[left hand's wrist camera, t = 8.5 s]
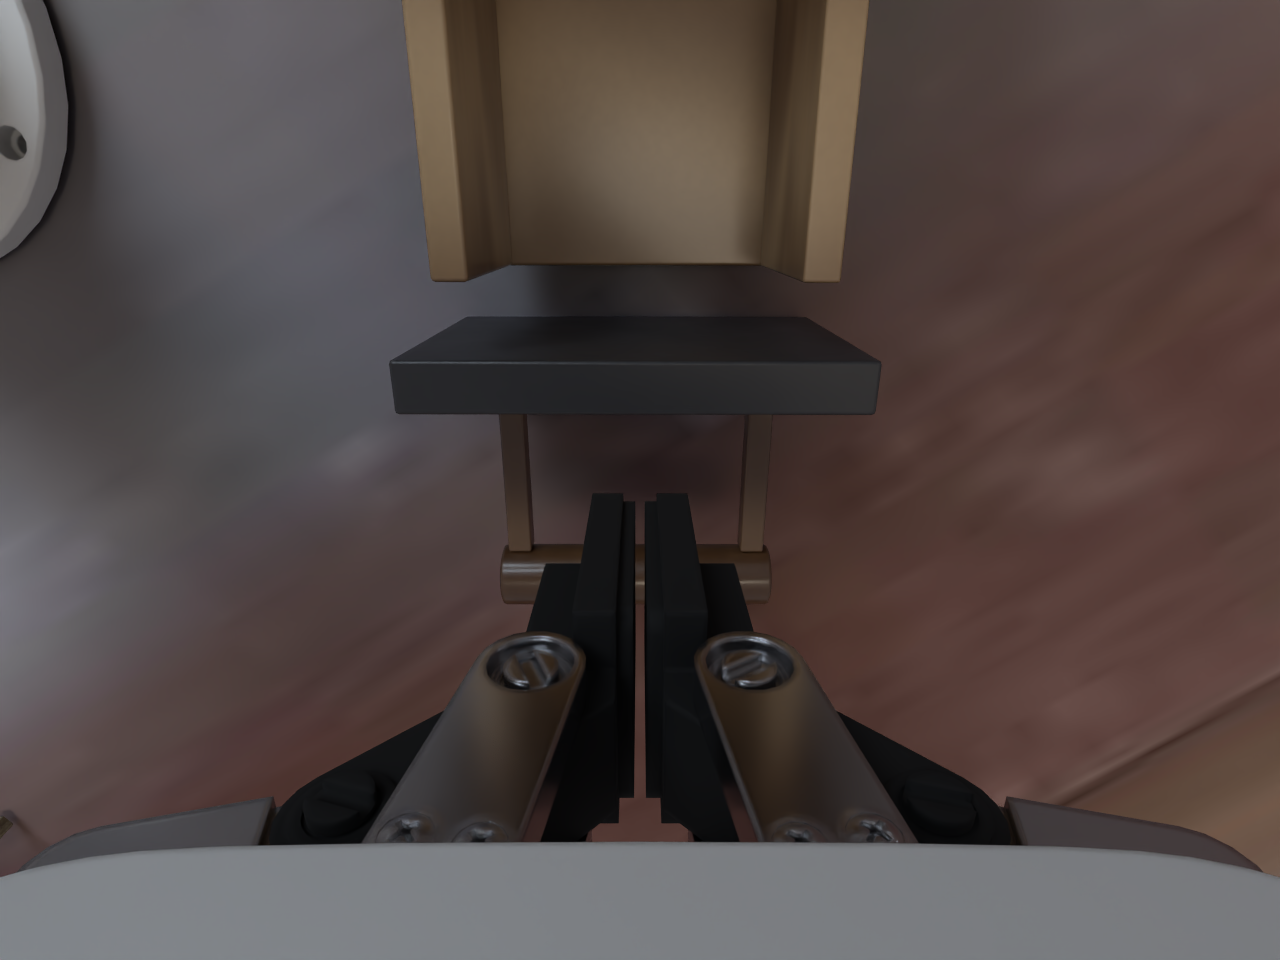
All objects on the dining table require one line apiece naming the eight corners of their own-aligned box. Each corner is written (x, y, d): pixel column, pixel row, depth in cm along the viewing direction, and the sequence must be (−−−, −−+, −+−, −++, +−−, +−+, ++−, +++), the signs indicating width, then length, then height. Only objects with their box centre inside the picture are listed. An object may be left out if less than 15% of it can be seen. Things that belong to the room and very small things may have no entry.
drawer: (789, 524, 24) (846, 640, 17) (483, 523, 24) (423, 640, 17) (864, -325, 16) (1022, -704, 9) (408, -326, 16) (246, -708, 9)
